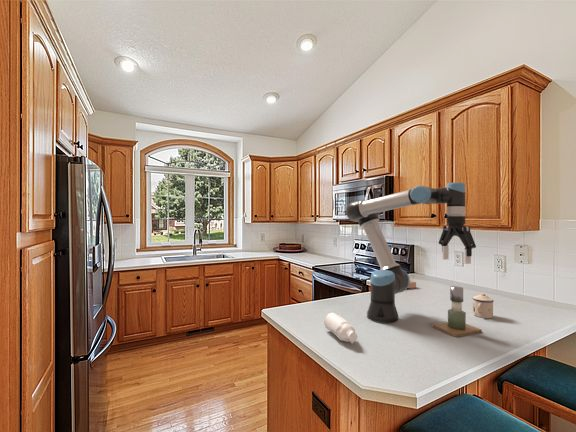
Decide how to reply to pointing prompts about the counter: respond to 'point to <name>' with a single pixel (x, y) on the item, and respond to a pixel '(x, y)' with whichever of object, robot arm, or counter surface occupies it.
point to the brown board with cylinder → (457, 322)
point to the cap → (456, 294)
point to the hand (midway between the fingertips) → (455, 261)
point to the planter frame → (412, 284)
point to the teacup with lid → (483, 306)
